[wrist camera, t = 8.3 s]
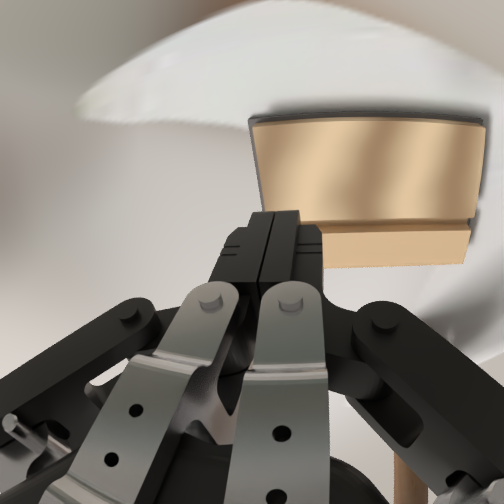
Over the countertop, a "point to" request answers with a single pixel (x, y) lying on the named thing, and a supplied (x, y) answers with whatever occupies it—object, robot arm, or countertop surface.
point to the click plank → (370, 167)
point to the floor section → (384, 221)
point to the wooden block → (408, 485)
